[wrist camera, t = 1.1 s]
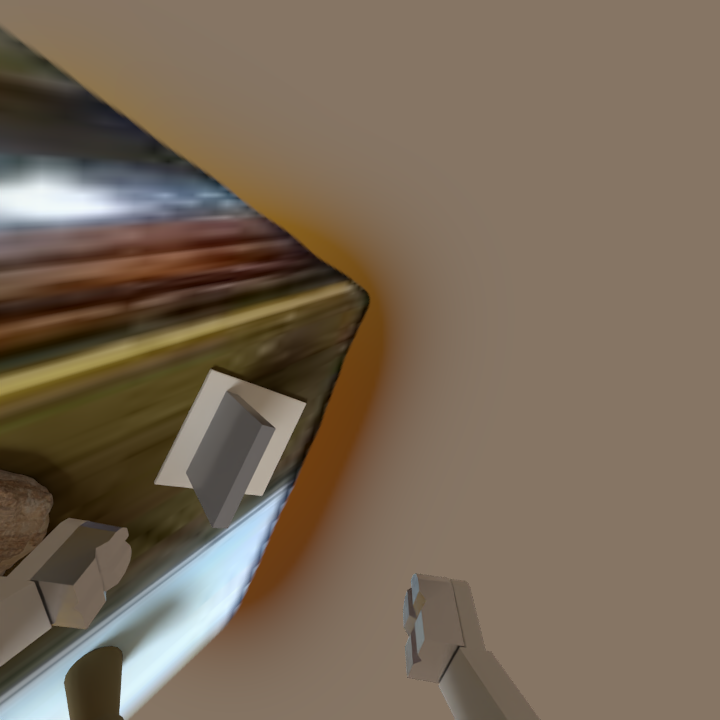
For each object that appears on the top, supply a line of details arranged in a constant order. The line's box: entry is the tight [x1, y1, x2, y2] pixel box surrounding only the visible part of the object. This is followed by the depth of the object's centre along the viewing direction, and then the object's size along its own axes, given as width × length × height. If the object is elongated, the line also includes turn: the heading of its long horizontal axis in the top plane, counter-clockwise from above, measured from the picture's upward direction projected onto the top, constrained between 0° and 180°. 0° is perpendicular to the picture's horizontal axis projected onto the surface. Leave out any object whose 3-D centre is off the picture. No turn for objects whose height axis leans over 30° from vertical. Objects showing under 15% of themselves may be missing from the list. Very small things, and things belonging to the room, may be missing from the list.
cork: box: [64, 646, 124, 720], centre depth 41 cm, size 6×6×11 cm
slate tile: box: [186, 391, 276, 528], centre depth 42 cm, size 2×12×12 cm, turn 147°
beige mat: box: [154, 369, 306, 496], centre depth 49 cm, size 16×16×1 cm
